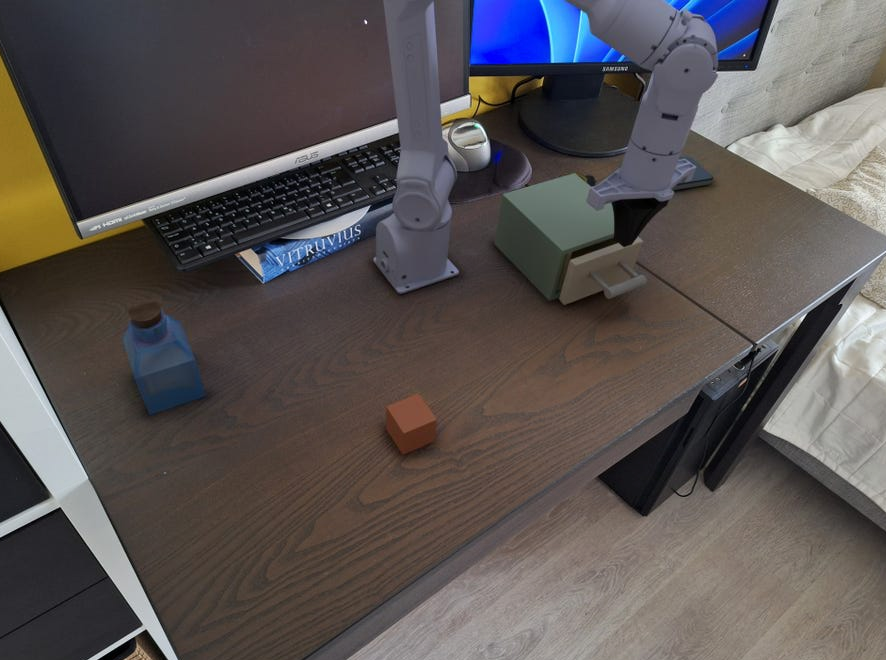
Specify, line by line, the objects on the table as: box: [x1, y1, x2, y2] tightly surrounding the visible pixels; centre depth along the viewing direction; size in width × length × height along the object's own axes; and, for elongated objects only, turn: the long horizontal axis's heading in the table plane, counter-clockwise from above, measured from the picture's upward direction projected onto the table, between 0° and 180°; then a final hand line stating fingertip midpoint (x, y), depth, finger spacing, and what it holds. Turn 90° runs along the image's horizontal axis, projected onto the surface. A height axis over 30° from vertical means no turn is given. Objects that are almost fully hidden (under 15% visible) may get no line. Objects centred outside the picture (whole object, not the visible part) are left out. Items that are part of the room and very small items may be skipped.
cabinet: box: [494, 172, 614, 302], centre depth 93 cm, size 14×13×9 cm
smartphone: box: [618, 155, 714, 191], centre depth 112 cm, size 8×2×15 cm
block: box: [385, 393, 438, 456], centre depth 72 cm, size 4×4×4 cm
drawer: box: [557, 236, 648, 306], centre depth 90 cm, size 17×11×7 cm, turn 30°
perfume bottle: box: [121, 298, 207, 416], centre depth 72 cm, size 6×6×12 cm
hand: (622, 241), depth 83 cm, fingers closed
